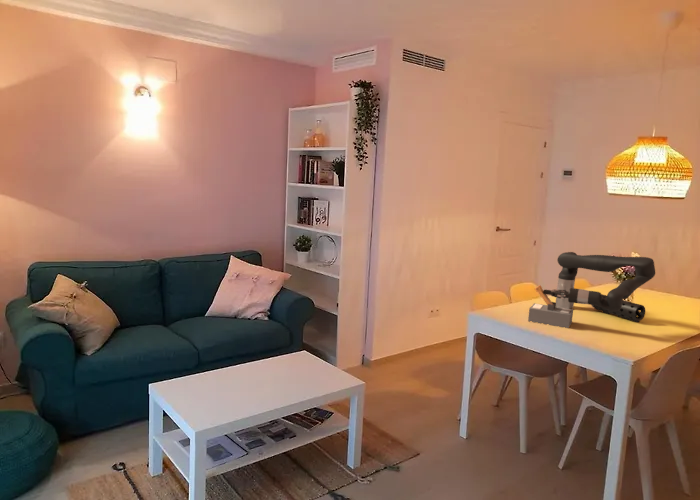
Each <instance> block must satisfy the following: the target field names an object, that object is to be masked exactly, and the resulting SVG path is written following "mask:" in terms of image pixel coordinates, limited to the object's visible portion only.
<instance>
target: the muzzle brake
mask: <svg viewBox="0 0 700 500" xmlns="http://www.w3.org/2000/svg"><path fill="white" fill-rule="evenodd" d="M601 295H602V298H604V299H606V300H607V294H602V293H601ZM591 307H592V308H594V309H595V310H597V311H601V312H602V313H604V314H607V315H610V314H612V315H615V316H617V317H619V318H622V319H625V320H628V321H631V322H636V323H639V322H640V321H642V320H643V319H644V318H645V315H646V307H645V305H643V304H639V303H635V302H631V301H627V300H625V299H623V300H622V307H621V309H620V310H618V311H610V310H607V309H604V308H602V307H599V306H597V305H591Z"/></svg>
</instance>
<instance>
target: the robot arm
mask: <svg viewBox="0 0 700 500" xmlns="http://www.w3.org/2000/svg"><path fill="white" fill-rule="evenodd" d="M557 263H558V265H559V266H560V267H562V268H561V271H560V272H559V273H558V275H557V276H558V277H557V286H556V287H557V288H556V289H543V293H544V294H546V295H547V296H548V295H549V296H551V297H554V298H555V302H556V307H561V308H567V309H573V308H574V305H575V304H580V305H591V306H592V305H597V306H599V307H602V308H604V309H607V310H610V311H618V310H620V309H621V307H622V300H626V299H628V298H629V297H631V295H632V294H634V292H635V291H636V290H637V289H638V288H640V287H641V286H643V285H645V284H646V283H648V282H649V281H651V280H652V279H653V278H654V277H655V275H656V266H655V261H654V259H653V258H651V257H647V256H616V255H614V256H613V255H609V254H608V255H606V254H588V255H587V254H585V255H580V254H577V253H576V252H574V251H567V252H562V253H561V254H559V255H558V257H557ZM622 267H623V268H624V267H634V271H635V276H634V278H633V279H632V278H631V279H624V280H623V281H622V282H621V283H620V284H619V285H618V286H617V287H615V288H613V289H611V290H610V291H608V293H607V294H606V296H607V300H606V299H604V298H602V295H601V294H602V292H600V291H595V290H588V289H583V288H575V283H576V276H577V274H578V271H579V269H583V270H588V271H589V270H590V271H597V272H604V273H611V272H614V271H617V270H619V269H621V268H622Z"/></svg>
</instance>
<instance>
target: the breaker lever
mask: <svg viewBox="0 0 700 500" xmlns="http://www.w3.org/2000/svg"><path fill="white" fill-rule="evenodd" d="M534 290H535V291H536V292H537V293H538V295H539V296H540V297H541V298H542V300H543V301H544V303H545V305H548V304H551V305H554V304H553V303H552V302H553V301H551V299H550V298H549V296H548V294H544V293H543V291H544V289H543V287H542V286H541V284H539V285H538V286H536V287H535V288H534Z"/></svg>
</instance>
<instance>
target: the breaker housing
mask: <svg viewBox="0 0 700 500" xmlns="http://www.w3.org/2000/svg"><path fill="white" fill-rule="evenodd" d="M551 302H552V303H553V304H554V305H551V304H548V305H547V304H540V303H533V304H532V305H530V307H529V309H528V310H529V311H528V320H527V321H528V322H530V321H532V322H531V323H535V322H538V323H537V324H541V323H544V324H543V325H547V324H549V325H548V326H552V327H558V326H559V327H560V328H564V327H565V329H570V327H571V324H572V322H573V316H574V309H573V308H570V309H567V308H561V307H556V301H555V302H554V301H551ZM569 326H570V327H569ZM559 327H558V328H559Z"/></svg>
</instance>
